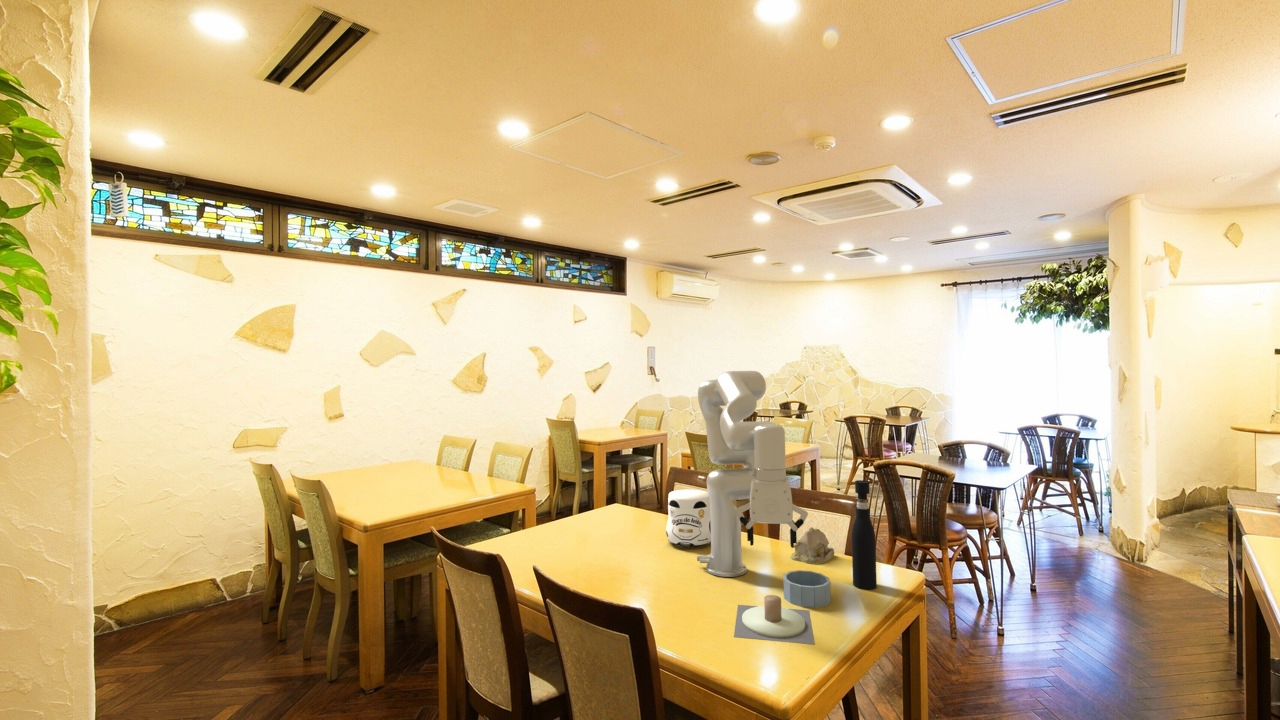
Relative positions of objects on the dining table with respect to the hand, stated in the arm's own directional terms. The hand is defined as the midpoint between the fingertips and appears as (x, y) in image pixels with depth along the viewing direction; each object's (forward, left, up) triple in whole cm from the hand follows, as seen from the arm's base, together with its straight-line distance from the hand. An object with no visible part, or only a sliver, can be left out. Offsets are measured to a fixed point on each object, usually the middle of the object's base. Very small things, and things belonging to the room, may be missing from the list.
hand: (771, 545), depth 135 cm
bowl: (+9, +17, -20) cm, 28 cm away
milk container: (-29, +61, -20) cm, 71 cm away
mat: (0, 0, -20) cm, 20 cm away
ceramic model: (+13, +54, -20) cm, 59 cm away
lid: (0, 0, -19) cm, 19 cm away
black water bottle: (+26, +31, -20) cm, 45 cm away
